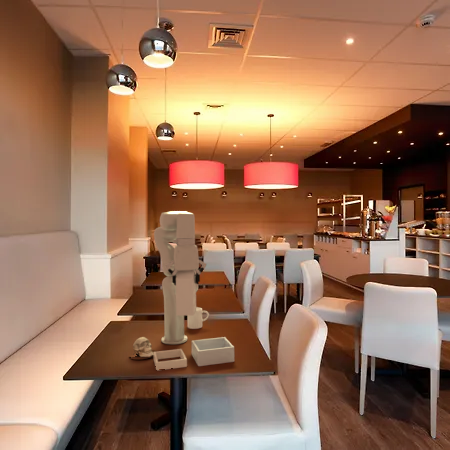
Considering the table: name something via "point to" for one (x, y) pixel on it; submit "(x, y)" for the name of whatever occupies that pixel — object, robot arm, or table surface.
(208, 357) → the tub
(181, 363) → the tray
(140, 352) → the skull
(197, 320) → the mug
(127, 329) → the table surface
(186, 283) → the milk carton
